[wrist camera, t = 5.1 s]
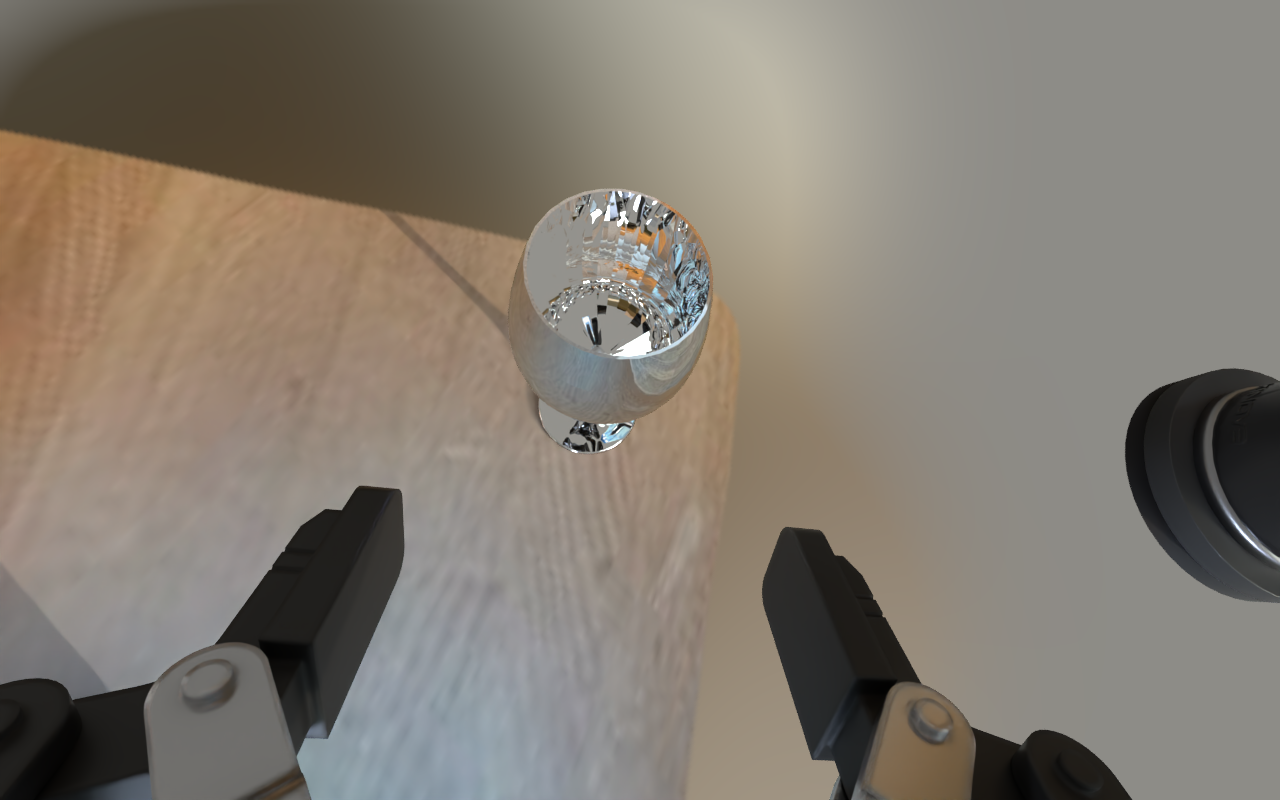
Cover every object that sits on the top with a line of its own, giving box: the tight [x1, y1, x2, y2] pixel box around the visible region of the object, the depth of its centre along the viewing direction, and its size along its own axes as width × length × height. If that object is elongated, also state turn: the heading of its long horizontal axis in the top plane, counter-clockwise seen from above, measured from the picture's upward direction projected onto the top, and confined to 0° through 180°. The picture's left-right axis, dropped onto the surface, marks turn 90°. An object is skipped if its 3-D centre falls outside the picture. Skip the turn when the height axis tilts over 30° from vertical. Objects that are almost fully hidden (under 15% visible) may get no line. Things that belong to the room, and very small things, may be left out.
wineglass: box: [508, 189, 713, 454], centre depth 19 cm, size 6×6×12 cm
